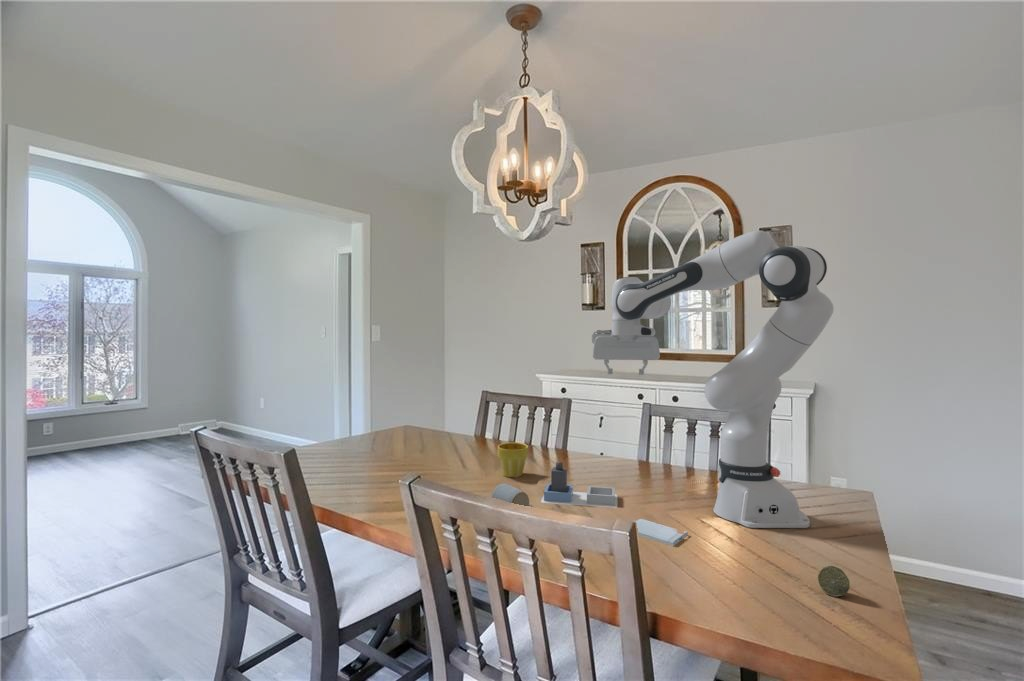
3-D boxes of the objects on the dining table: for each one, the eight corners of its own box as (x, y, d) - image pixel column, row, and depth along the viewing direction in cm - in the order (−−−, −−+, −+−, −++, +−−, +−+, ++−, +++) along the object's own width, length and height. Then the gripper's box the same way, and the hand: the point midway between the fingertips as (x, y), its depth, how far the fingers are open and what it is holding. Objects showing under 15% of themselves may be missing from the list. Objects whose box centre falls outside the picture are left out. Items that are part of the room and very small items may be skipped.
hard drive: (624, 527, 124) (673, 541, 115) (640, 517, 130) (688, 530, 121) (624, 534, 124) (673, 548, 115) (640, 524, 130) (688, 537, 122)
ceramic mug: (512, 523, 129) (512, 493, 129) (489, 514, 135) (490, 486, 135) (539, 512, 137) (539, 484, 137) (516, 505, 143) (517, 478, 142)
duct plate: (617, 497, 148) (617, 486, 148) (617, 511, 137) (617, 498, 137) (545, 493, 152) (545, 481, 152) (540, 506, 141) (540, 493, 141)
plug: (566, 495, 147) (566, 461, 147) (565, 499, 144) (565, 464, 143) (553, 494, 148) (553, 460, 148) (551, 498, 144) (551, 464, 144)
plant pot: (526, 479, 166) (526, 450, 165) (495, 478, 167) (494, 448, 167) (530, 471, 176) (530, 443, 176) (500, 469, 177) (500, 441, 177)
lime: (853, 600, 92) (853, 573, 92) (824, 598, 93) (824, 571, 93) (841, 588, 97) (842, 562, 97) (814, 586, 98) (814, 560, 97)
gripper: (591, 330, 156) (591, 375, 156) (660, 330, 152) (660, 376, 152) (592, 330, 162) (592, 373, 162) (658, 329, 158) (658, 374, 158)
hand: (625, 374), depth 157 cm, fingers open, 8 cm apart
